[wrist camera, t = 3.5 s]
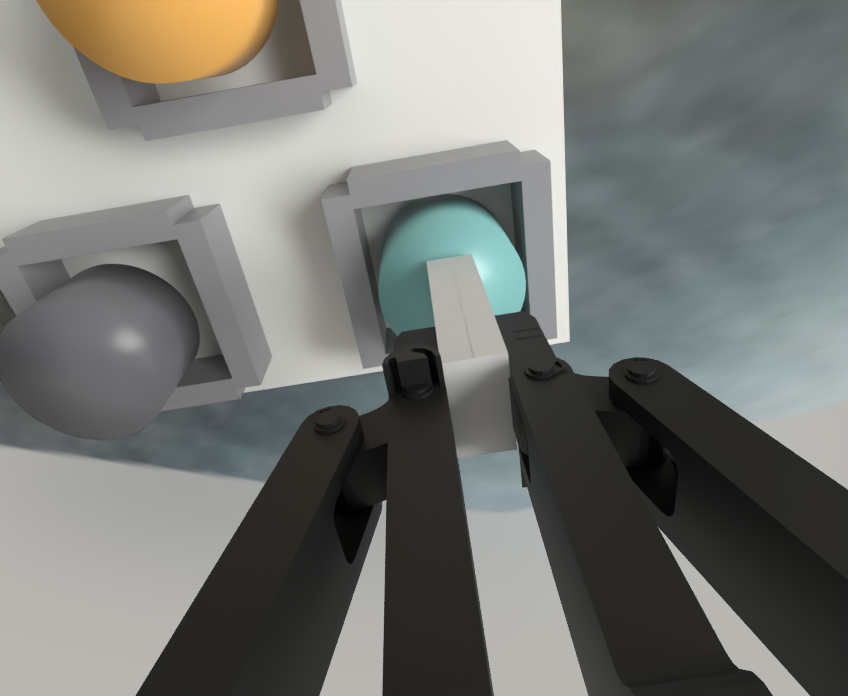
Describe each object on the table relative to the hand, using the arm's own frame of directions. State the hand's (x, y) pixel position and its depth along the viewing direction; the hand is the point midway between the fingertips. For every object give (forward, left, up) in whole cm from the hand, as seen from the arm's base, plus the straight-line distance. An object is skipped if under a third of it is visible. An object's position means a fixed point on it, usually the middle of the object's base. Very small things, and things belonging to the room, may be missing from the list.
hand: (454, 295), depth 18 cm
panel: (-6, +5, -6) cm, 10 cm away
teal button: (0, 0, -4) cm, 4 cm away
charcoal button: (-12, 0, -2) cm, 12 cm away
